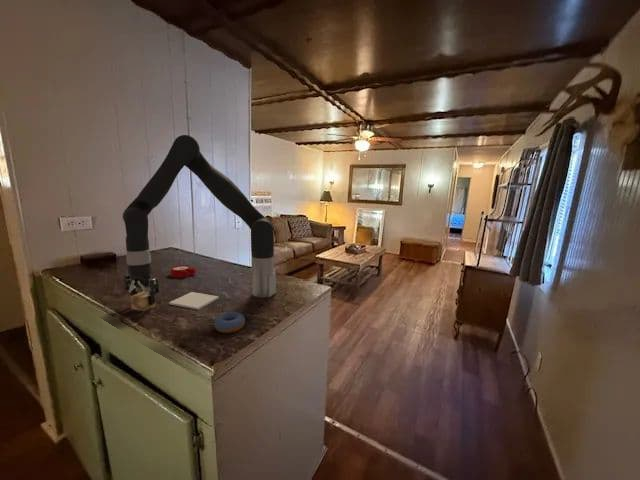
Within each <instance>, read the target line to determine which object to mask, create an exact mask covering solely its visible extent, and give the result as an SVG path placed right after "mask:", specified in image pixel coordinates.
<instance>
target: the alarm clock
mask: <svg viewBox="0 0 640 480" xmlns="http://www.w3.org/2000/svg"><path fill="white" fill-rule="evenodd" d="M166 270H167V271H170V274H169V276H170V277H171V278H180V279H185V278H187V277H188V276H195V274H196V273H197V270H196V267H191V266H190V265H187V264H181V265H175V266H172V267H171V268H170V269H166Z"/></svg>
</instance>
